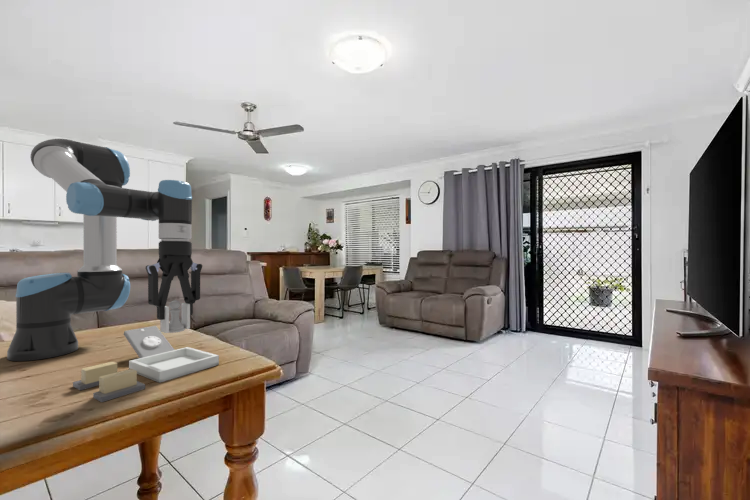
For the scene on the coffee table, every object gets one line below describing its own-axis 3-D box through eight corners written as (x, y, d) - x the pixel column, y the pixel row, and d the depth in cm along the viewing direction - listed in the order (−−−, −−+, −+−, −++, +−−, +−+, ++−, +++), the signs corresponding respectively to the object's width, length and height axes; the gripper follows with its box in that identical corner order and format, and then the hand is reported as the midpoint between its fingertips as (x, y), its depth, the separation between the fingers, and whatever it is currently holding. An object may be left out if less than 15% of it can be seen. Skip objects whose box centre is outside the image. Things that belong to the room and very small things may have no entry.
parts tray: (129, 370, 88) (129, 360, 88) (187, 355, 100) (187, 346, 100) (159, 382, 80) (159, 371, 80) (218, 364, 92) (218, 355, 92)
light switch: (147, 360, 91) (124, 328, 98) (141, 377, 92) (120, 345, 99) (179, 352, 98) (156, 322, 105) (174, 368, 100) (152, 338, 106)
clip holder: (72, 386, 77) (73, 368, 77) (114, 375, 84) (114, 359, 84) (101, 402, 69) (101, 382, 69) (145, 388, 76) (145, 370, 76)
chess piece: (161, 331, 90) (161, 300, 90) (180, 327, 93) (180, 298, 93) (169, 333, 87) (169, 302, 87) (188, 330, 91) (188, 300, 91)
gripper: (145, 239, 81) (145, 339, 81) (215, 241, 96) (215, 325, 96) (130, 239, 85) (130, 335, 85) (199, 241, 100) (199, 322, 100)
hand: (175, 329), depth 90 cm, fingers closed on chess piece, 5 cm apart
